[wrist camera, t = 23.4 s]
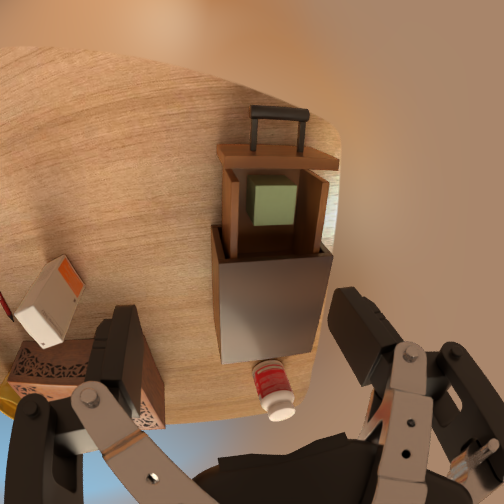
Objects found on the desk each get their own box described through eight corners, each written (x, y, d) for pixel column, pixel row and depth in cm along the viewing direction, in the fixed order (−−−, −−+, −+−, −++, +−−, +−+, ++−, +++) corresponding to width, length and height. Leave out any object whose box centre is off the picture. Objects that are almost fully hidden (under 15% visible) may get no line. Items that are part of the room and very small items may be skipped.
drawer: (217, 104, 29) (225, 104, 23) (313, 109, 32) (344, 114, 25) (216, 255, 39) (223, 290, 32) (298, 250, 41) (320, 281, 34)
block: (247, 174, 33) (255, 185, 29) (284, 174, 34) (297, 185, 30) (245, 211, 35) (253, 226, 32) (281, 210, 36) (293, 224, 32)
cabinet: (210, 225, 37) (218, 263, 29) (303, 221, 40) (333, 255, 32) (213, 317, 45) (221, 364, 37) (291, 310, 47) (311, 352, 39)
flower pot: (43, 396, 48) (35, 430, 40) (6, 379, 44) (-5, 411, 35) (43, 373, 45) (33, 411, 36) (3, 354, 40) (-12, 389, 32)
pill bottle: (246, 367, 53) (259, 415, 43) (275, 354, 52) (292, 401, 43) (259, 381, 56) (273, 426, 46) (287, 369, 55) (303, 413, 46)
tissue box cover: (55, 387, 47) (46, 425, 38) (22, 341, 40) (6, 380, 31) (164, 385, 51) (165, 428, 43) (143, 335, 44) (140, 384, 35)
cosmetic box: (87, 285, 38) (64, 343, 27) (67, 294, 38) (43, 350, 27) (65, 251, 35) (32, 305, 24) (45, 262, 34) (12, 315, 24)
